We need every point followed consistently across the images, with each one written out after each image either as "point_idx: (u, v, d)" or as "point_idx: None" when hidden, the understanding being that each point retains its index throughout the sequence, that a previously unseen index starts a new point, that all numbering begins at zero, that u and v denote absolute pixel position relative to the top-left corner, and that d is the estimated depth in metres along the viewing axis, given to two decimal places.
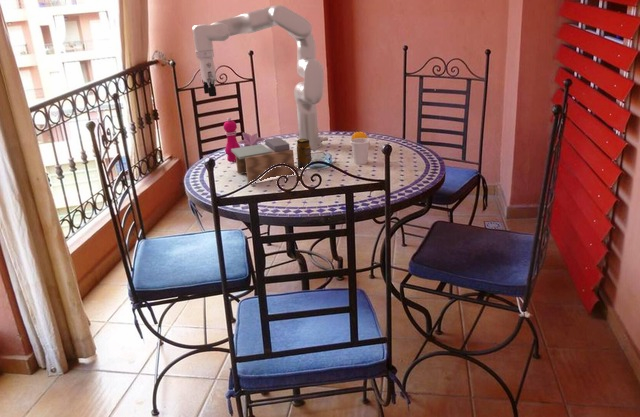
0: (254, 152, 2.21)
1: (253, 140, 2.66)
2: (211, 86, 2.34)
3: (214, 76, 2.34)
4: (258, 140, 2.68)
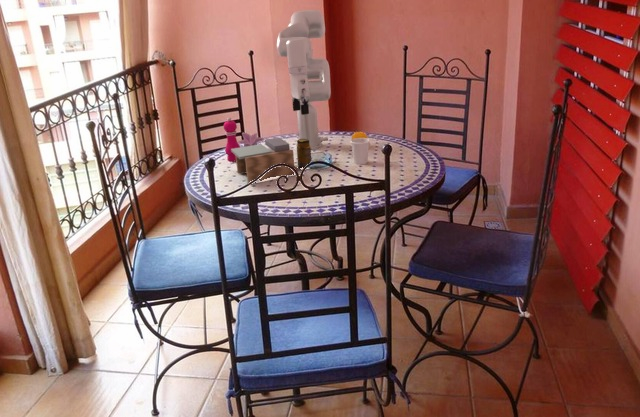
0: (254, 152, 2.21)
1: (253, 140, 2.66)
2: (304, 104, 2.21)
3: (308, 93, 2.22)
4: (257, 139, 2.68)
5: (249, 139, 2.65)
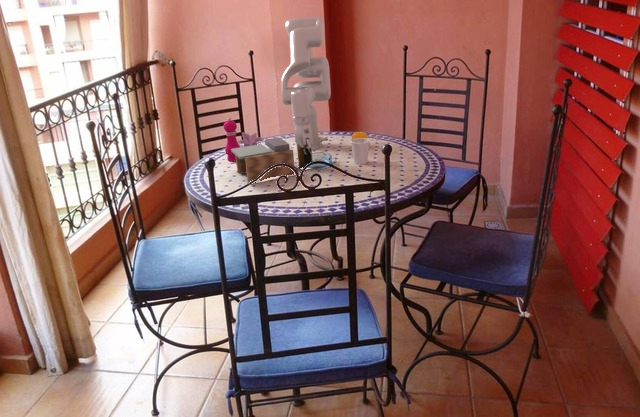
0: (254, 152, 2.21)
1: (252, 140, 2.66)
2: (307, 153, 2.30)
3: (311, 142, 2.29)
4: (257, 139, 2.68)
5: (249, 139, 2.66)
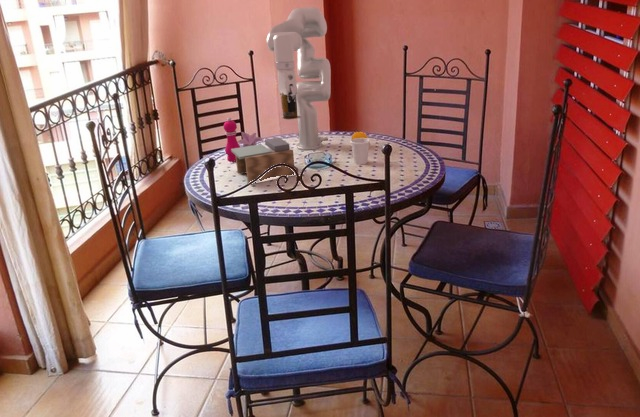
0: (254, 152, 2.21)
1: (252, 140, 2.66)
2: (291, 101, 2.20)
3: (295, 89, 2.19)
4: (256, 139, 2.68)
5: (248, 139, 2.66)
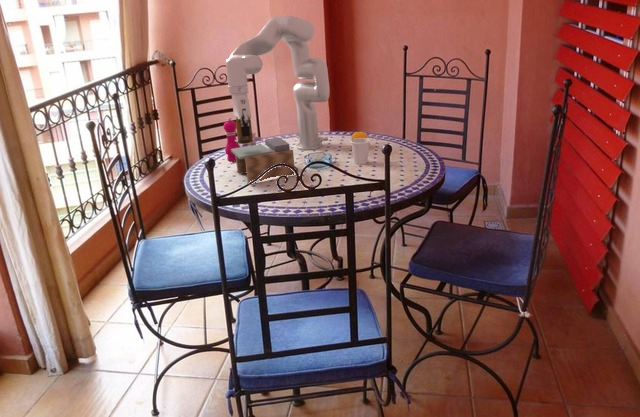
0: (254, 152, 2.21)
1: None
2: (244, 126, 2.16)
3: (248, 113, 2.15)
4: (256, 139, 2.69)
5: None
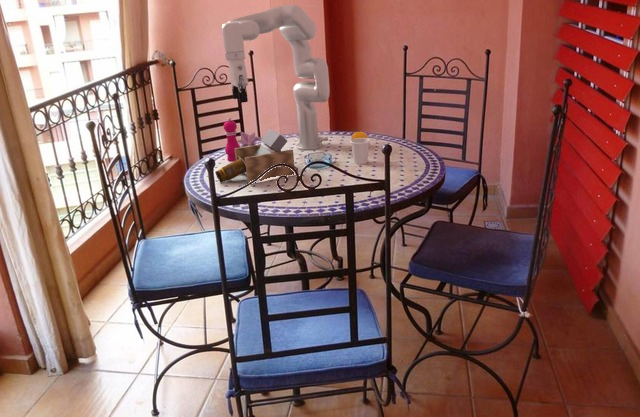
0: None
1: (251, 139, 2.67)
2: (242, 91, 2.10)
3: (245, 80, 2.11)
4: (255, 139, 2.69)
5: (247, 139, 2.67)
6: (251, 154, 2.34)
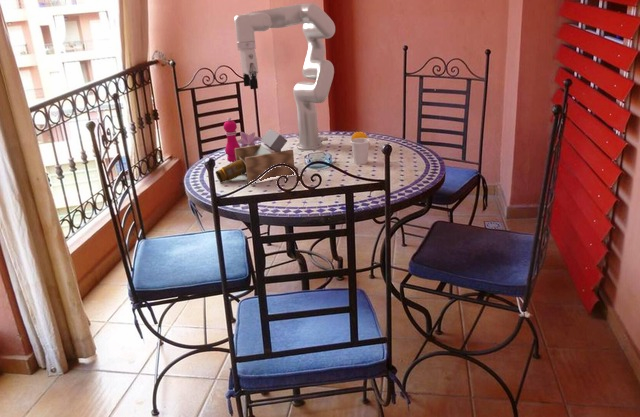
0: None
1: (251, 139, 2.67)
2: (253, 78, 2.26)
3: (256, 68, 2.26)
4: (255, 139, 2.69)
5: (247, 138, 2.67)
6: (251, 154, 2.34)
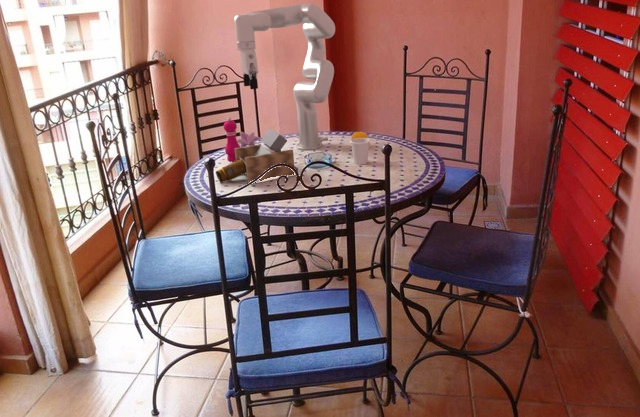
0: None
1: (250, 139, 2.67)
2: (253, 78, 2.26)
3: (256, 68, 2.26)
4: (254, 139, 2.70)
5: (246, 138, 2.67)
6: (251, 154, 2.34)
